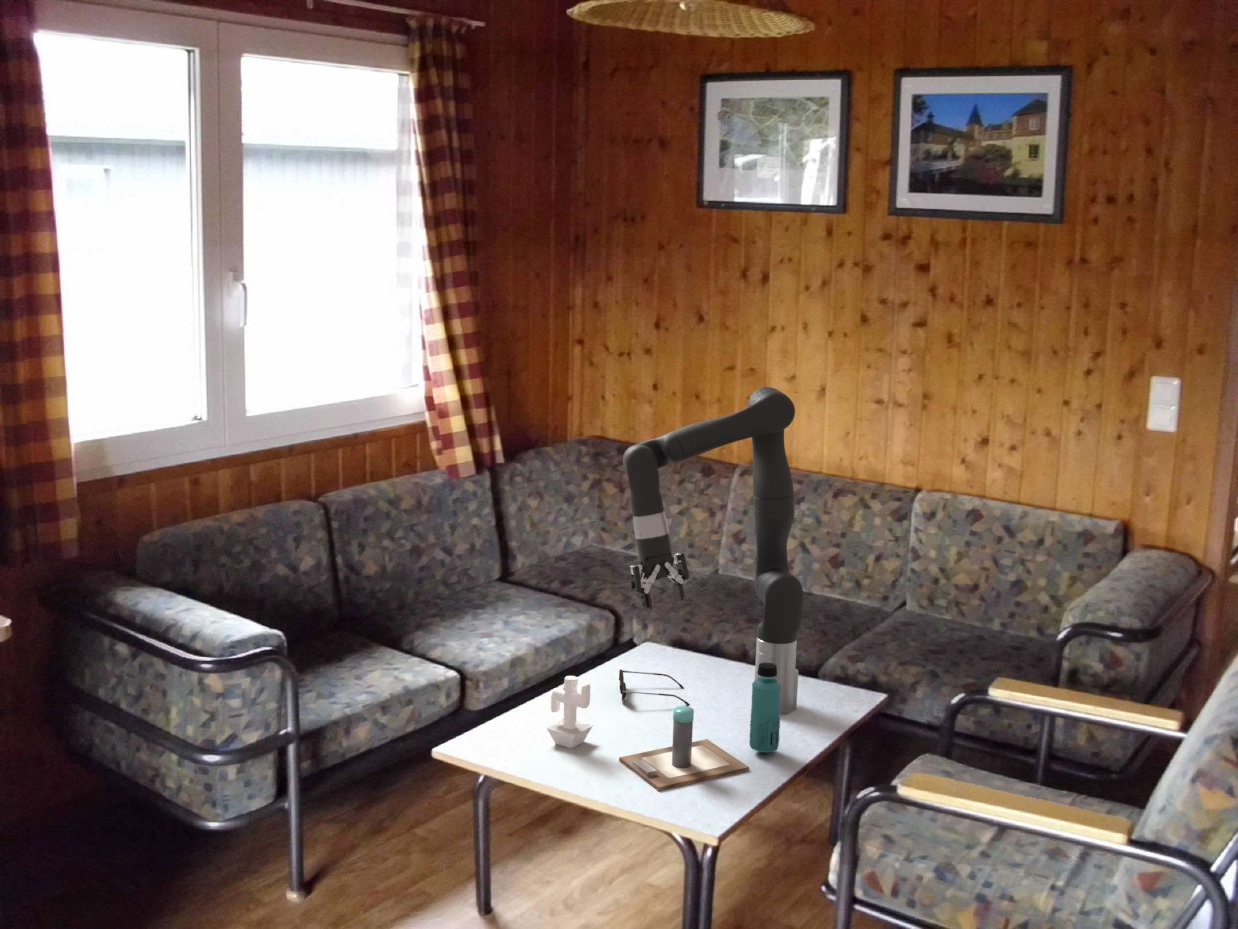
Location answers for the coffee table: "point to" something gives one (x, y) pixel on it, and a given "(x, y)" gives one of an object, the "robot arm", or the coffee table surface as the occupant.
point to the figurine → (570, 713)
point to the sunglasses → (623, 692)
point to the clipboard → (704, 766)
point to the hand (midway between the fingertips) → (664, 605)
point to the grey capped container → (682, 736)
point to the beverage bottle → (765, 710)
